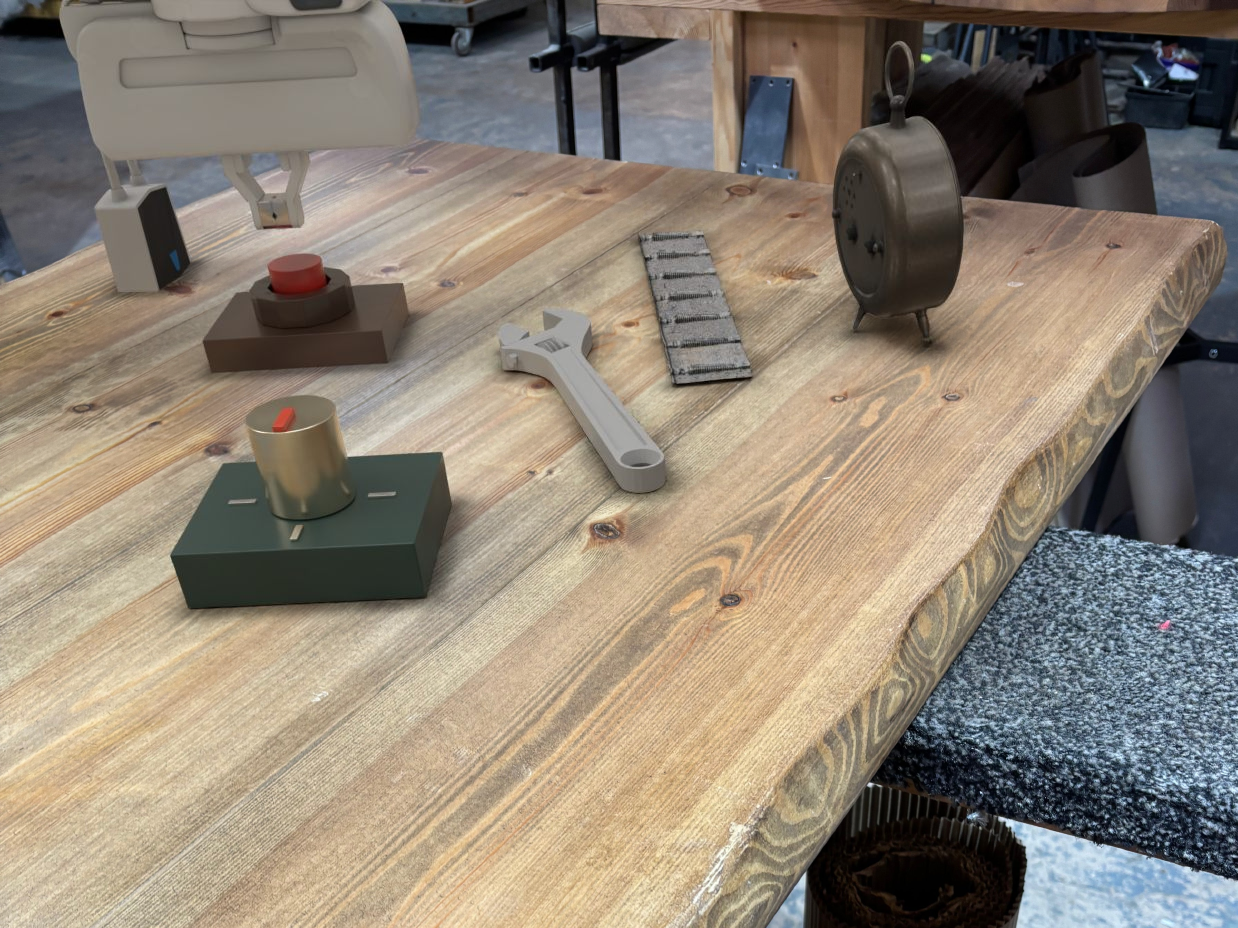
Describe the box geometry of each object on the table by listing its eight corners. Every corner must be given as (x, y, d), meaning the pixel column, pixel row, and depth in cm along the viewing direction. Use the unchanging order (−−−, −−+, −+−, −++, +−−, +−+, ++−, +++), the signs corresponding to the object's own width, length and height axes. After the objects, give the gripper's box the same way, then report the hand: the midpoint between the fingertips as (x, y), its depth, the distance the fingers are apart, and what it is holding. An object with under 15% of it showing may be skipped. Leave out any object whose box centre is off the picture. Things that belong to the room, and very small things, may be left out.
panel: (187, 609, 66) (167, 551, 64) (237, 513, 74) (221, 459, 71) (425, 598, 66) (413, 539, 63) (452, 502, 73) (442, 448, 71)
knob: (280, 481, 69) (256, 390, 66) (363, 477, 69) (342, 386, 66) (258, 521, 66) (231, 428, 63) (345, 518, 66) (322, 424, 62)
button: (268, 300, 88) (261, 272, 87) (280, 281, 91) (274, 254, 90) (321, 297, 88) (315, 269, 87) (332, 278, 91) (326, 251, 90)
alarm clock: (959, 349, 84) (985, 53, 73) (880, 363, 83) (895, 66, 72) (889, 293, 92) (903, 19, 81) (816, 306, 91) (820, 30, 80)
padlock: (163, 291, 102) (95, 66, 92) (112, 292, 102) (39, 68, 92) (196, 261, 107) (135, 44, 96) (148, 262, 107) (81, 47, 97)
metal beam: (701, 236, 105) (637, 239, 104) (701, 224, 104) (636, 227, 104) (753, 380, 83) (671, 384, 82) (753, 365, 82) (671, 370, 82)
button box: (211, 373, 89) (193, 312, 86) (244, 323, 96) (228, 265, 93) (388, 363, 88) (375, 301, 86) (409, 314, 95) (398, 255, 92)
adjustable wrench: (674, 490, 73) (672, 459, 71) (559, 510, 72) (555, 479, 71) (584, 328, 91) (581, 301, 89) (491, 343, 90) (487, 316, 89)
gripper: (29, -8, 76) (109, 249, 85) (385, -28, 75) (426, 234, 84) (67, -27, 80) (139, 218, 90) (402, -46, 79) (439, 204, 89)
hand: (280, 226), depth 87 cm, fingers closed
